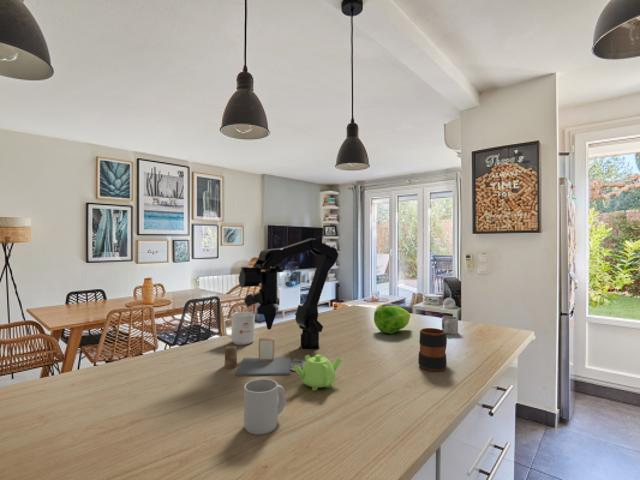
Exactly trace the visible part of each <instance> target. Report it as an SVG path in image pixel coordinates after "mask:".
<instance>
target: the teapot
mask: <svg viewBox="0 0 640 480" xmlns="http://www.w3.org/2000/svg"><path fill="white" fill-rule="evenodd" d="M304 360H305V362H304V365H303V367H302V368H301V367H300V366H299V364H296V365H294V366H293V370H294V371H295V373H297V375H298V376H299V377H300V378H301V381H302V382H303V383H304V385H306V386H308V387H310V388H311V390H312V391H313V392H317V391H318V390H319V388H326V389H330V388H331V387H332V384H333V382H335V380H336V371H337V369H338V367H339V366H340V364H341V363H342V359H340V358H339V357H337V358H336V359H335V361H334V362H333V364H332V362H331V361H330V360H329V359H328V358H327V357H325V356H323V355H322V354H318V353H317V354H315V355H314V356H312V357H311V356H310V354H306V355H304Z"/></svg>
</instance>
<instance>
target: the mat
mask: <svg viewBox="0 0 640 480" xmlns="http://www.w3.org/2000/svg"><path fill="white" fill-rule="evenodd" d="M291 362H292V358H291V357H290V356H287V357H274V360H270V361H259V357H243V358H242V360H241V361H240V364H239V366H238V368H237V370H236V372H235V376H236V377H237V376H239V377H240V376H241V377H242V376H243V377H244V376H246V377H248V376H290V372H291Z"/></svg>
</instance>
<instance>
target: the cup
mask: <svg viewBox="0 0 640 480" xmlns="http://www.w3.org/2000/svg"><path fill="white" fill-rule="evenodd" d="M243 388H244V389H243V395H244V396H243V405H244V406H243V408H244V409H243V426H244V430H245V431H246V432H248V433H249V434H252V435H256V436H257V435H259V436H261V435H262V436H263V435H267V434H269V433H272V432H273V431H274V430H275V429H276V428H277V427H278V423H279V422H278V420H279V419H278V418H279V416H278V415H280V414H281V413H282V412H283V411H284V408H285V407H286V403H287V401H286V400H287V394H286V391H285V389H284V386H282V385H281V384H279V383H278V382H277V381H275V380H273V379H268V378H258V379H253V380H250V381H248V382H246V383H245V384H244V386H243Z"/></svg>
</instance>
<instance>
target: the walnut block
mask: <svg viewBox="0 0 640 480" xmlns="http://www.w3.org/2000/svg"><path fill="white" fill-rule="evenodd" d="M237 365H238V346H237V345H233V346H232V345H230V346H229V345H228V346H226V347H225V348H224V369H236V367H237Z"/></svg>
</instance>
